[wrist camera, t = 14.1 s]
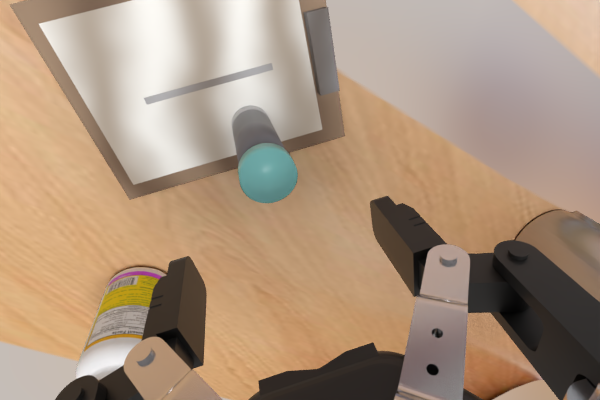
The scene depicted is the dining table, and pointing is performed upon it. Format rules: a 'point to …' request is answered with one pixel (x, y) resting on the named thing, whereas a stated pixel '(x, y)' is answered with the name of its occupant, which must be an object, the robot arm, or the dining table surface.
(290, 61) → the clipboard
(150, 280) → the supplement bottle
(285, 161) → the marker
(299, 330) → the dining table surface
